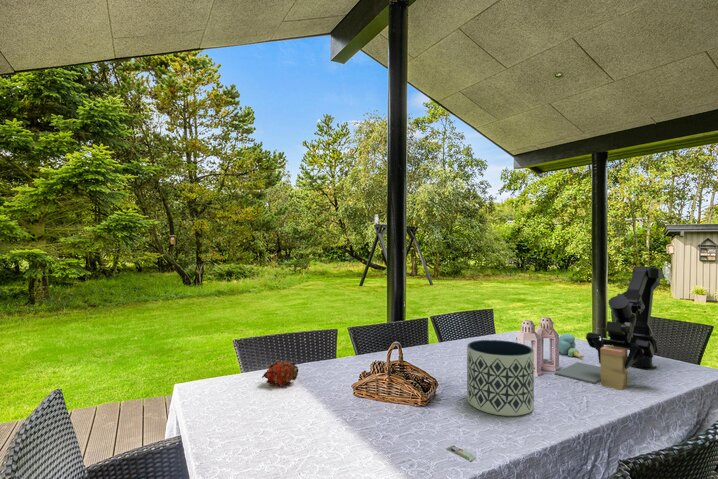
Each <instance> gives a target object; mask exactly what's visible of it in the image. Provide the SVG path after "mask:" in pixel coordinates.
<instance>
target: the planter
mask: <svg viewBox="0 0 718 479" xmlns="http://www.w3.org/2000/svg"><path fill="white" fill-rule="evenodd" d="M534 353H535V352H534V349H533V348H532V347H531V346H529V345H526V344H523V343H519V342H515V341H509V340H501V339H500V340H498V339H481V340H474V341H471V342H468V343H467V345H466V382H467V383H466V384H467V385H466V394H467V395H466V400H467V402H468V403H469V404H470V405H471V406H472V407H473V408H475V409H477V410H479V411H481V412H483V413H487V414H489V415H495V416H501V417H518V416H519V417H520V416H523V415H526V414H529V413H531V412H532V411H533V410H534V409H535V372H534V371H535V367H534V366H535V364H534V360H535V359H534V358H535V357H534Z"/></svg>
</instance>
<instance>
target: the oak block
mask: <svg viewBox="0 0 718 479" xmlns="http://www.w3.org/2000/svg"><path fill="white" fill-rule="evenodd" d="M628 355H629V354H628V349H627V348H621V347H615V346H611V345H604V347H602V348H600V357H601V364H600V367H601V381H600V385H601V386H604V387H609V388H613V389H617V390H621V391H622V390H624V389H625V388H626V387H628V386H629V374H628V373H629V372H628V370H629V368H628V369H625V363H626V360H627V358H628Z"/></svg>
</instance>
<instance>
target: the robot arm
mask: <svg viewBox="0 0 718 479" xmlns="http://www.w3.org/2000/svg"><path fill="white" fill-rule="evenodd" d="M662 279H663V271H662V269H659V267H658V266H634V267H633V268H632V275H631V278H630V280H629V284H628V286H627V288H626V289H627V290H626V291H624V292H622V293H617V295H614V296H612V297H611V298H610V299H609V300H608V305H609V308H610V311H611V314H612V316H613V317H615V320H614V321H606V324H605V326H606V327H605V331H606V332H607V334H606V335H607V337H608V338H605V337H602V334H601V333H598V332H597V333H596V332H591V331H590V332H587V333H586V336H585V340H586V341H587V344H588V345H589V347H590V348H594V349H595V350H596V351H597V355H598V356H597V358H598V363H599V365H601V357H600V348H602V347H604V346H606V345H608V346H614V347H620V348H626V349H627V350H629V353H628V354H627V355H628V358H627V360H626V363H625V369H628V370H629V368H630V367H631V366H632V367H635V368H638V369H641V370H652V369H657V366H656V365H653V358H654V356H655V354H658V353H659V346H658V343H657V340H656V337H655V334H654V332H653V330H652V328H651V319H652V318H651V317H652V316H651V315H652V309H653V298H654V290H656V288H658V286H659V285H660V283H661V280H662Z"/></svg>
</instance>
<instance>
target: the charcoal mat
mask: <svg viewBox="0 0 718 479" xmlns="http://www.w3.org/2000/svg"><path fill="white" fill-rule="evenodd" d="M554 375H556V376H560V377H564V378H569V379H572V380H577V381H581V382H585V383H589V384H593V385H595V384H598V382H601V366H598V365H592V364H588V363H583V362H579V361H577V362H575V363H573V364H570V365H568V366H566V367H564V368H562V369H559V370H558V371H556V372H554Z"/></svg>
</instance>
